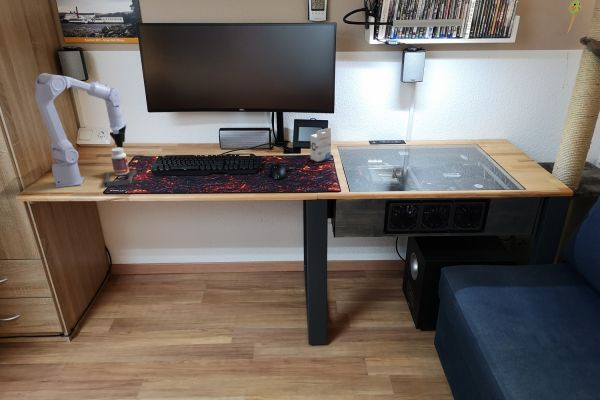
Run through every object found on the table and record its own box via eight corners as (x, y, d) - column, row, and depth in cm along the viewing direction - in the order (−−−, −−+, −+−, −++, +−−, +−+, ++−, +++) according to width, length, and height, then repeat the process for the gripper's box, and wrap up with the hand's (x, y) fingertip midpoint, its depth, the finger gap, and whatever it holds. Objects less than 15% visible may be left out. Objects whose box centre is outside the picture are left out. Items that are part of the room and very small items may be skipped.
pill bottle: (131, 173, 192) (126, 149, 187) (116, 176, 189) (111, 152, 184) (127, 169, 197) (122, 145, 192) (113, 172, 194) (108, 148, 189)
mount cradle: (101, 187, 179) (99, 182, 178) (105, 176, 189) (104, 171, 188) (134, 184, 181) (133, 178, 180) (136, 173, 192) (135, 168, 191)
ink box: (324, 155, 210) (324, 125, 203) (331, 157, 206) (331, 127, 200) (310, 159, 205) (310, 128, 199) (316, 161, 202) (316, 130, 195)
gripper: (122, 118, 187) (128, 149, 193) (126, 110, 200) (132, 139, 206) (105, 120, 186) (111, 150, 191) (110, 111, 198) (116, 140, 204)
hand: (121, 144), depth 198 cm, fingers open, 7 cm apart
